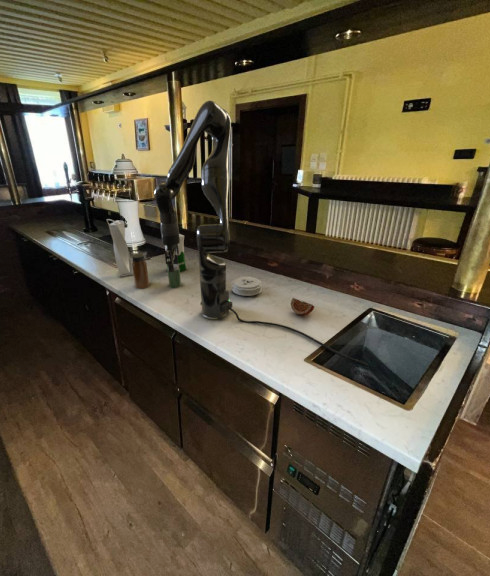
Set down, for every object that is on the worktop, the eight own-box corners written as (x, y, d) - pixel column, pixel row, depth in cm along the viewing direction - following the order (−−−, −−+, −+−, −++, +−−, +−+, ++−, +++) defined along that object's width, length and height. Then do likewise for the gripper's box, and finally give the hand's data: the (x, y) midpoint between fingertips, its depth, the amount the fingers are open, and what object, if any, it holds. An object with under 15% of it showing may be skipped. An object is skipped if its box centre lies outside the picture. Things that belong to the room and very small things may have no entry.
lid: (238, 283, 136) (238, 273, 134) (265, 287, 131) (266, 276, 129) (227, 294, 126) (227, 284, 124) (256, 299, 121) (256, 288, 118)
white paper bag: (117, 277, 148) (106, 221, 137) (116, 272, 155) (106, 217, 144) (134, 274, 151) (125, 218, 139) (132, 269, 158) (124, 215, 146)
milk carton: (178, 265, 160) (175, 228, 152) (188, 269, 154) (186, 231, 146) (164, 270, 155) (160, 231, 147) (175, 274, 149) (171, 234, 140)
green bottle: (183, 284, 138) (181, 264, 134) (175, 288, 134) (173, 268, 130) (174, 281, 141) (172, 262, 137) (166, 286, 137) (164, 266, 133)
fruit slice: (286, 311, 111) (287, 299, 109) (297, 305, 115) (298, 294, 113) (306, 320, 105) (307, 307, 103) (317, 313, 109) (318, 301, 106)
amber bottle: (152, 284, 139) (148, 254, 133) (142, 289, 134) (137, 258, 128) (142, 281, 142) (138, 252, 136) (132, 286, 138) (127, 256, 132)
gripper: (165, 228, 134) (169, 262, 141) (156, 237, 121) (161, 274, 128) (182, 228, 133) (185, 262, 140) (174, 237, 120) (178, 274, 127)
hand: (173, 268), depth 134 cm, fingers open, 8 cm apart
